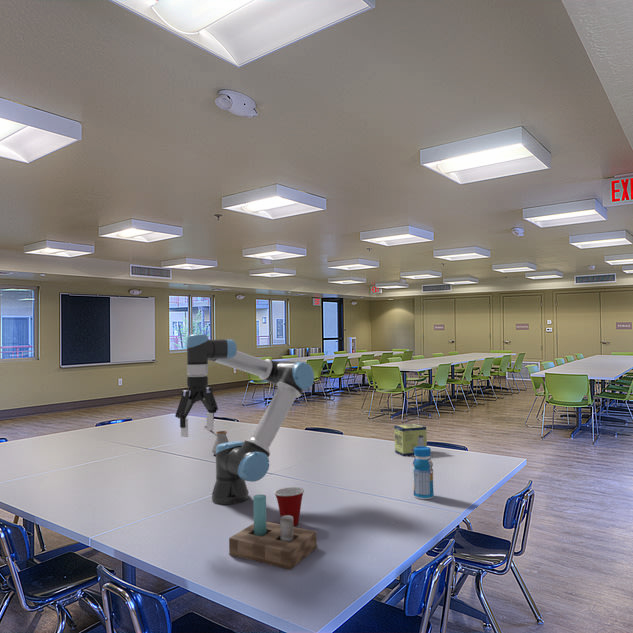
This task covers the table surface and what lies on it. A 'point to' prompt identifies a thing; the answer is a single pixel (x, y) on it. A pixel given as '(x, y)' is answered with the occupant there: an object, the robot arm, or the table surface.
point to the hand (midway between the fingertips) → (197, 433)
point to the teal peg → (260, 515)
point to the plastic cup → (290, 502)
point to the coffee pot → (219, 439)
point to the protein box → (409, 438)
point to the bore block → (274, 544)
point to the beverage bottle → (423, 473)
